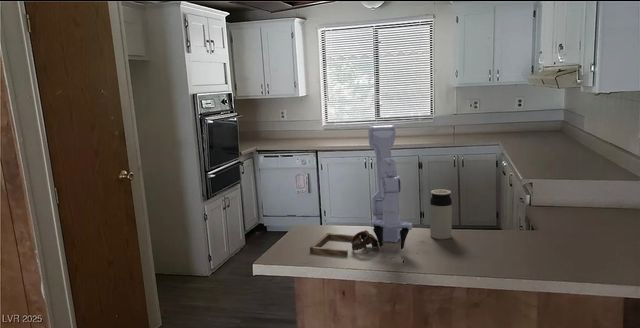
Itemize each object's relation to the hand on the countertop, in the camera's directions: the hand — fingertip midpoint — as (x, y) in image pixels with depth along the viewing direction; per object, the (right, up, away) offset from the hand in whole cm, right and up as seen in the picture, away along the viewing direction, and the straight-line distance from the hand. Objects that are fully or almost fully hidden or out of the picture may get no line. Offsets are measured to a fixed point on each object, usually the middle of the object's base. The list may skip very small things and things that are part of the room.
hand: (391, 247), depth 168 cm
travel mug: (+21, +1, +15) cm, 26 cm away
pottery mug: (-9, -2, +4) cm, 10 cm away
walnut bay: (-19, -1, +8) cm, 21 cm away
